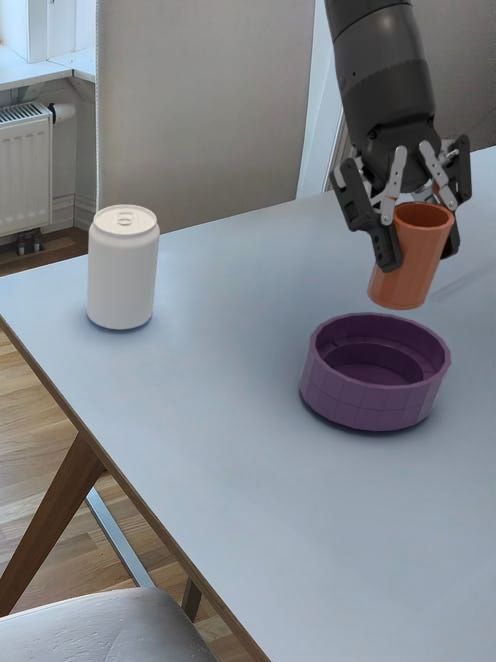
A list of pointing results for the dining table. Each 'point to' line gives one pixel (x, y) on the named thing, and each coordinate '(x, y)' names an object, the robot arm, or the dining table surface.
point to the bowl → (374, 371)
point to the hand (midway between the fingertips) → (421, 262)
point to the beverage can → (122, 266)
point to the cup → (412, 255)
